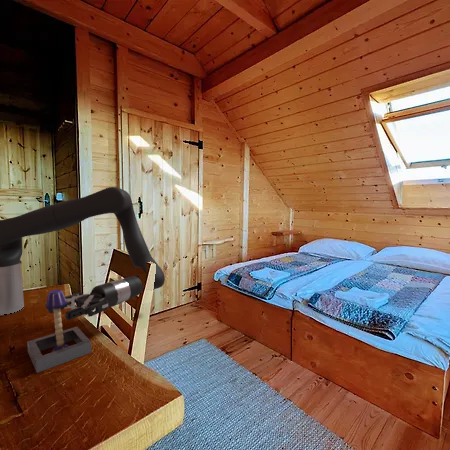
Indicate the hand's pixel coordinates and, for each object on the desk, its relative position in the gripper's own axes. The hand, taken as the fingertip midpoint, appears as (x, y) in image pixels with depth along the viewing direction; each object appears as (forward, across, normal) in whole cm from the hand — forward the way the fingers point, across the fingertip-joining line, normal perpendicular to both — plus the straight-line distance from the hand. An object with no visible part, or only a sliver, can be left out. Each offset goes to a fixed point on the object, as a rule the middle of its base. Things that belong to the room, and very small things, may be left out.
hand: (57, 312), depth 70 cm
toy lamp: (0, 0, +11) cm, 11 cm away
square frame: (0, 0, +11) cm, 11 cm away
